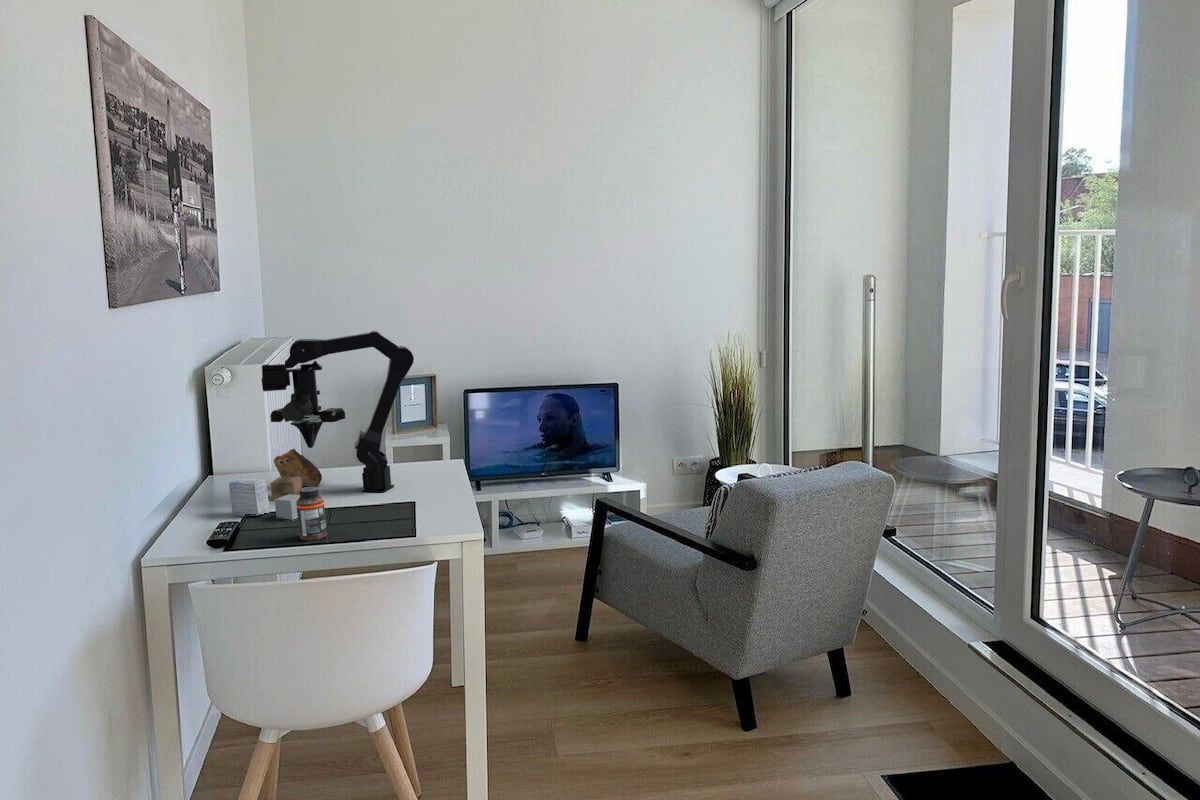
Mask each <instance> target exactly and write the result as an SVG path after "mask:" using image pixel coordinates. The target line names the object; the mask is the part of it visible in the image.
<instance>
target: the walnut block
mask: <svg viewBox="0 0 1200 800" xmlns="http://www.w3.org/2000/svg"><path fill="white" fill-rule="evenodd" d="M269 483H270V493H271V501H272V502H275V499H277V498H280V497H283V496H286V495H288V494H293V495H300V489H302V488H303V486H302V482H301V477H281V476H280V477H279V476H278V477H277V478H275V479H273V480H272V481H271V482H269Z"/></svg>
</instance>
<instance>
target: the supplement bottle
mask: <svg viewBox="0 0 1200 800" xmlns="http://www.w3.org/2000/svg"><path fill="white" fill-rule="evenodd" d="M296 505H297V515H298V519H297V522H298V523H297V524H298V533H299V538H300V540H302V541H307V542H312V541H319V540H322V539H324V538H325V537H327V535H328V528H327V518H326V517H327V516H326V510H325V508H326V507H325V499H324V497H323V496H321V495H320V493H319V488H318V486H304V487H302V489H300V498H299V499H298V500H297V502H296Z"/></svg>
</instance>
